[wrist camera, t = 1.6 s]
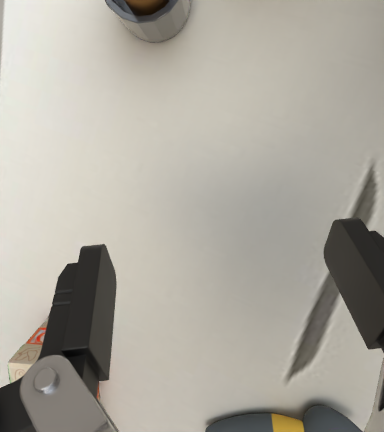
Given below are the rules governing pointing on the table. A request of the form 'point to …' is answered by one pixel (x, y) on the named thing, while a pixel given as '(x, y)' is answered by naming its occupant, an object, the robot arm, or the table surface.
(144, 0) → the red-banded tan cylinder
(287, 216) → the table surface
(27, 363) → the stack of blocks
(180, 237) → the table surface
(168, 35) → the cup
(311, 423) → the wand massager
